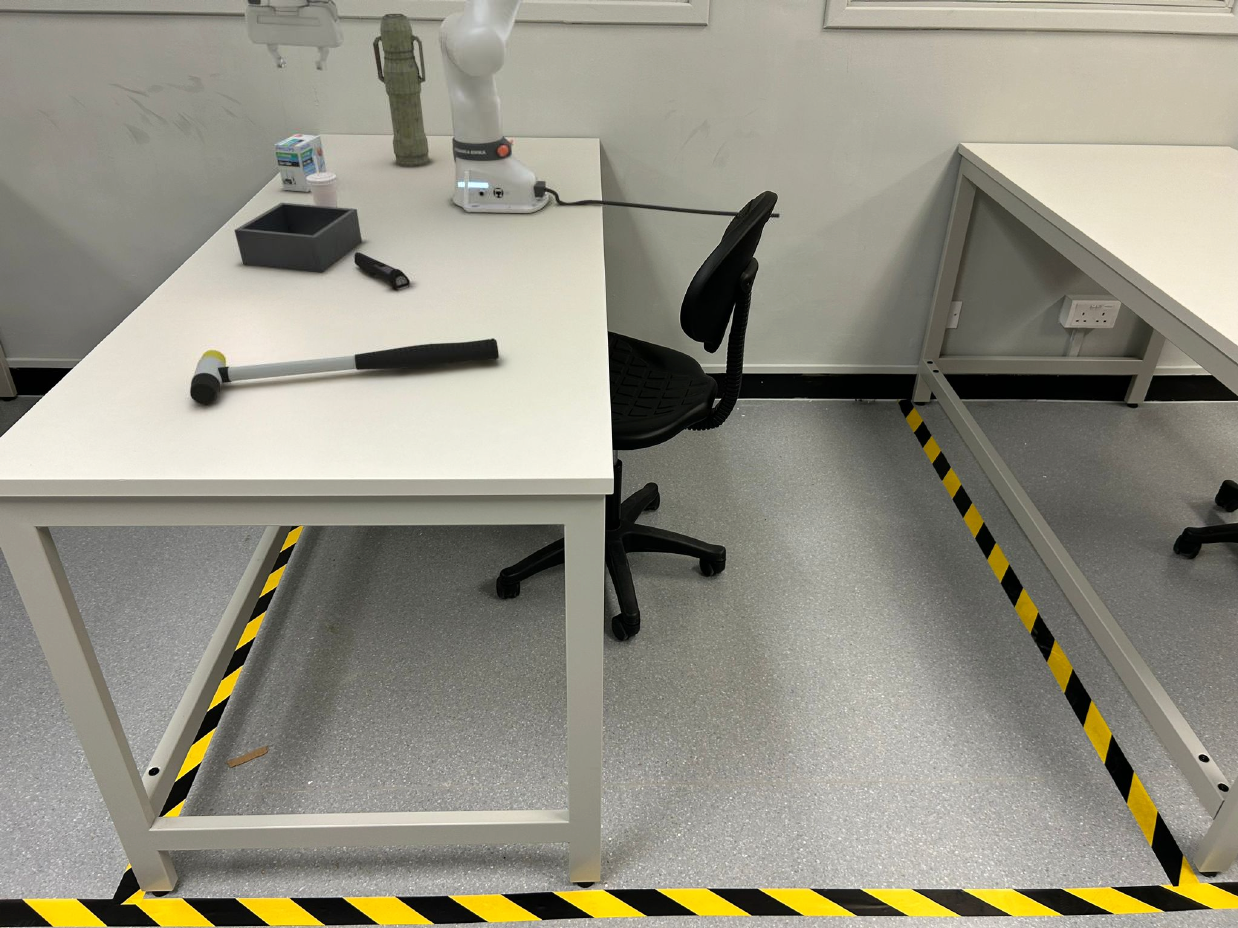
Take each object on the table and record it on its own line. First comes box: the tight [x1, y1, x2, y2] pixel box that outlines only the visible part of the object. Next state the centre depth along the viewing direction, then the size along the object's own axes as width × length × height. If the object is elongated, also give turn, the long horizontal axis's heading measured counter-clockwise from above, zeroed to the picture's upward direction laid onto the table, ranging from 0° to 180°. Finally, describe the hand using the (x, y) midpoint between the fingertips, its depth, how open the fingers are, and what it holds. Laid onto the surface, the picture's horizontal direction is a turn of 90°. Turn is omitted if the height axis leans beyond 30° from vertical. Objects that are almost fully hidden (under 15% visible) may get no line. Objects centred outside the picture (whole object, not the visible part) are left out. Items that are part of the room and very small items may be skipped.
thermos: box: [372, 13, 430, 168], centre depth 218 cm, size 9×12×35 cm
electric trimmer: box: [353, 251, 411, 291], centre depth 163 cm, size 4×16×3 cm, turn 45°
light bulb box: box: [273, 133, 328, 193], centre depth 208 cm, size 11×7×11 cm, turn 168°
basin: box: [234, 202, 363, 274], centre depth 172 cm, size 17×17×7 cm
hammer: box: [189, 337, 500, 405], centre depth 132 cm, size 45×11×4 cm, turn 103°
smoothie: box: [306, 156, 338, 207], centre depth 186 cm, size 6×6×14 cm
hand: (301, 68), depth 182 cm, fingers open, 8 cm apart
